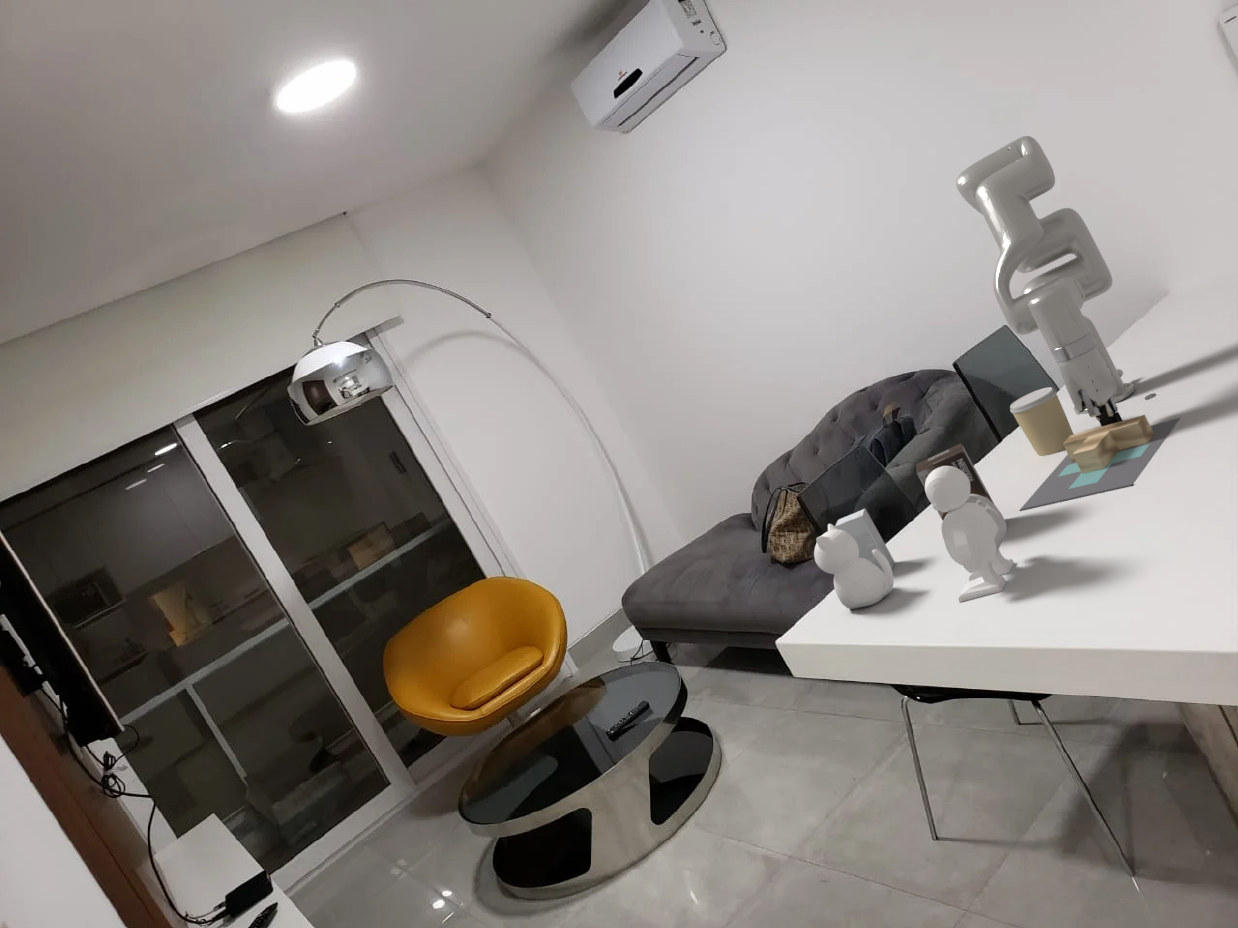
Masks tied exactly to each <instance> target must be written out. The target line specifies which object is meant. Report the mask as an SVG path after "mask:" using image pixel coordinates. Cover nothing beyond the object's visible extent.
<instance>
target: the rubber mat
mask: <svg viewBox="0 0 1238 928" xmlns="http://www.w3.org/2000/svg"><path fill="white" fill-rule="evenodd" d="M1180 419H1181V417H1177V418H1174V419H1170V420H1166V421H1163V422H1160V423H1155V424H1152V425H1151V424H1150V426H1151V428H1152V430H1153V432H1154V435H1153V436H1152V438H1151V439H1150V440H1149V441H1148V443H1145V444H1141V445H1137V446H1133V447H1129V448H1125V449H1122V450H1119V451H1118V452H1121V451H1125V450H1129V449H1133V448H1137V447H1140V446H1144V445H1148V444H1150V445H1149V446H1148V447H1147V449H1146V450H1145V451H1144V453H1143V454H1142V455H1141V456H1140V457H1136V458H1132V459H1128V460H1124V461H1120V462H1116V463H1112V464H1111V465H1110V467H1109V468H1108V469H1107V471H1106V472H1105V473H1104V474H1103V476H1102V477H1101V478H1100V480H1099V481H1098V482H1097V483H1093V484H1088V485H1084V486H1080V487H1076V488H1071V489H1069V488H1070V486H1071V485H1072V484H1073V483H1074V482H1075V480H1076V479H1077V478H1078V477H1079V475H1080V474H1081V473H1082V472H1081V471H1080V472H1076V473H1072V474H1068V475H1064V476H1060V477H1058V476H1059V475H1060V473H1061V472H1062V471H1063V470H1064V469H1065V468H1066V466H1067V465H1070V464H1074V463H1077V462H1076V461H1075V462H1072V461H1071V459H1070V457H1069V455H1068V454H1066V456H1065V457H1064V458H1063V459H1062V460H1061V462H1059V464H1058V465H1057V466H1056V468H1054V470H1053V471H1052V472H1051V473H1050V475H1048V477H1046V479H1045V480H1044V481H1043V482H1042V483H1041V484H1040V486H1039V487H1038V488H1037V489H1036V490H1035V491H1034V493H1033V494H1031V496H1030V497H1029V498H1028V500H1027V501H1026V502H1025V503H1024V504H1023V506H1022V507H1020V509H1019V511H1020V512H1022V511H1028V510H1031V509H1037V508H1040V507H1045V506H1050V505H1053V504H1057V503H1058V502H1059V503H1062V502H1067V501H1070V500H1076V499H1081V498H1085V497H1090V496H1094V495H1099V494H1103V493H1107V492H1111V491H1117V490H1120V489H1125V488H1130V487H1133V486H1135V482H1136V480H1137V479H1138V477H1139V476H1140V475H1141V473H1142V472H1143V471H1144V470H1145V468H1146V467H1147V465H1148V464H1149V462H1150V461H1151V460H1152V458H1153V457H1154V456H1155V454H1156V453H1157V451H1158V450H1159V449H1160V448H1161V446H1162V444H1163V443H1164V442H1165V440H1167V437H1168V436H1169V435H1170V433H1171V432H1172V431H1173V429H1174V428H1175V427H1176V425H1177V424H1178V422H1180ZM1098 493H1099V494H1098Z"/></svg>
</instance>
